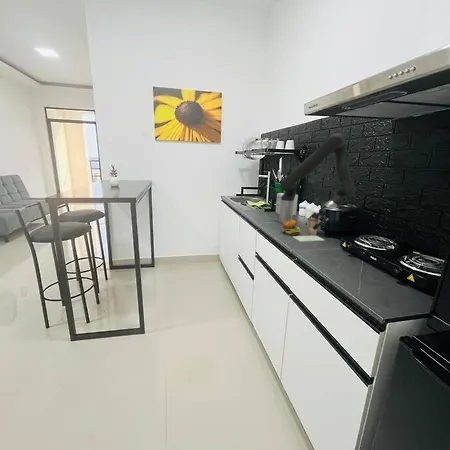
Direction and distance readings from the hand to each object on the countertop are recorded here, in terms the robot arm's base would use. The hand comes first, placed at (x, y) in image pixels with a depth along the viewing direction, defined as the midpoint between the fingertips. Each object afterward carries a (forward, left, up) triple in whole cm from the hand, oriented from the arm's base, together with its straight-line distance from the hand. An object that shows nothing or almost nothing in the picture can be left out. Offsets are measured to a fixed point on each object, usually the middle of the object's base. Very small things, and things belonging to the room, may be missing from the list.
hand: (310, 227), depth 159 cm
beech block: (0, +1, -5) cm, 5 cm away
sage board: (+6, -9, -5) cm, 12 cm away
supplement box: (-53, +33, -5) cm, 62 cm away
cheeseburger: (-7, -9, -5) cm, 13 cm away
